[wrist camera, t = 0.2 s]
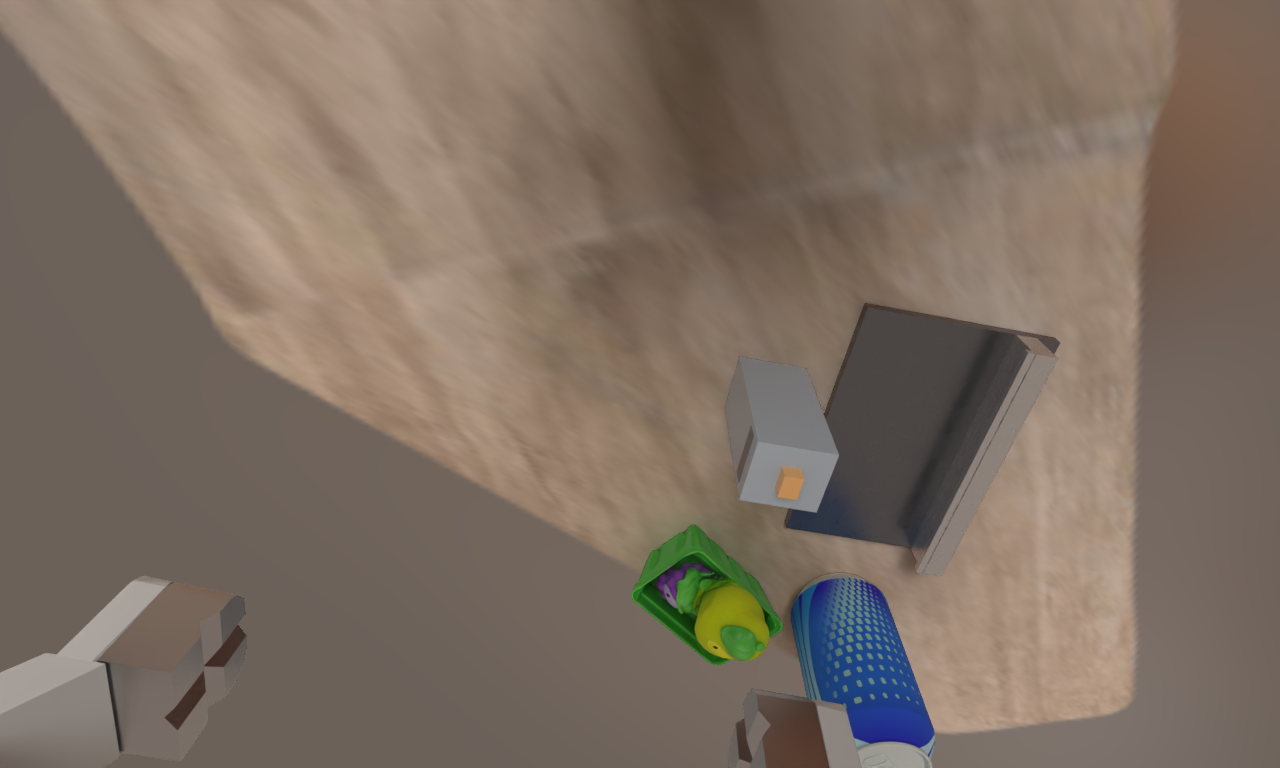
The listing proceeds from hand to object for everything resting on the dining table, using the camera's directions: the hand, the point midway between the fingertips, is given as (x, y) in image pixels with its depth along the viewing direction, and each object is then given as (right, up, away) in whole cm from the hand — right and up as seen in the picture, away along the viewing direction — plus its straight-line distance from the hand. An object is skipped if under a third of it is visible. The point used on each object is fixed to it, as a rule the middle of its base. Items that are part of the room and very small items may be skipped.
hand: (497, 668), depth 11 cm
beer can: (+20, -15, +52) cm, 58 cm away
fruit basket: (+8, -11, +51) cm, 53 cm away
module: (+12, +4, +42) cm, 44 cm away
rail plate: (+23, +1, +43) cm, 49 cm away
